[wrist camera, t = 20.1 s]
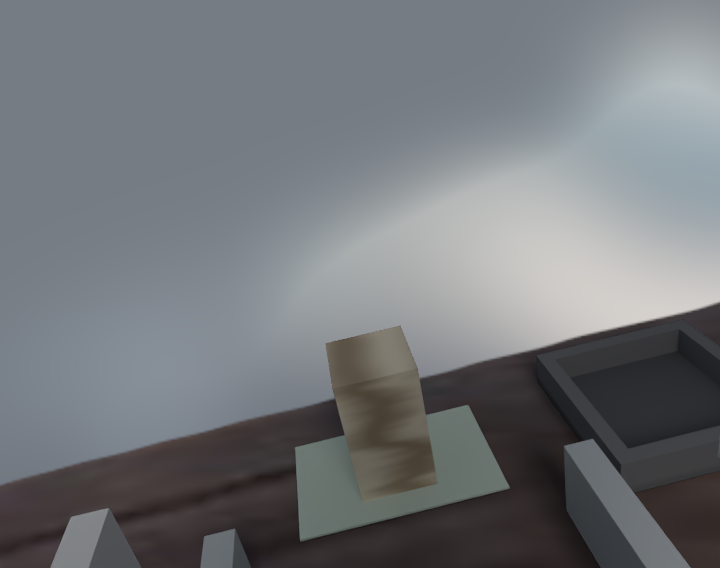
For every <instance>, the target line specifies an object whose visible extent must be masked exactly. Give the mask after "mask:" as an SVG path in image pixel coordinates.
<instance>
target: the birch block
mask: <svg viewBox="0 0 720 568" xmlns="http://www.w3.org/2000/svg"><path fill="white" fill-rule="evenodd" d="M326 349H327V355H328V362H329V369H330V375H331V382H332V388H333V392H334V396H335V400H336V404H337V407H338V411H339V415H340V419H341V423H342V426H343V430H344V434H345V438H346V442H347V445H348V449H349V453H350V457H351V461H352V464H353V468H354V472H355V476H356V480H357V483H358V487H359V491H360V495H361V499H362V502H366V501H370V500H374V499H378V498H382V497H386V496H390V495H394V494H398V493H402V492H406V491H410V490H414V489H418V488H422V487H426V486H430V485H434V484H438V482H437V476H436V470H435V465H434V459H433V453H432V448H431V442H430V436H429V431H428V425H427V419H426V414H425V408H424V402H423V397H422V391H421V385H420V380H419V374H418V369H417V366H416V363H415V361H414V358H413V356H412V353H411V351H410V349H409V346H408V344H407V341H406V339H405V337H404V334H403V331H402V329H401V326H398V327H393V328H389V329H385V330H380V331H376V332H372V333H368V334H363V335H359V336H355V337H351V338H347V339H342V340H338V341H334V342H330V343H326Z"/></svg>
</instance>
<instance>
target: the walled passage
mask: <svg viewBox="0 0 720 568" xmlns="http://www.w3.org/2000/svg"><path fill="white" fill-rule="evenodd" d="M564 464H565V489H566V510H567V512H568V514H569V515H570V517H571V519H572V520H573V522H574V524H575V526H576V527H577V529H578V531H579V532H580V534H581V536H582V537H583V539H584V541H585V542H586V544H587V546H588V547H589V549H590V551H591V552H592V554H593V556H594V558H595V559H596V561H597V563H598V564H599V566H600V568H690V566H689V565H688V564H687V562H686V561H685V560H684V559H683V557H682V556H681V555H680V553H679V552H678V551H677V549H676V548H675V547H674V545H673V544H672V543H671V541H670V540H669V539H668V537H667V536H666V535H665V533H664V532H663V531H662V529H661V528H660V527H659V525H658V524H657V523H656V521H655V520H654V519H653V518H652V516H651V515H650V514H649V512H648V511H647V510H646V508H645V507H644V506H643V504H642V503H641V502H640V500H639V499H638V498H637V496H636V495H635V494H634V492H633V491H632V490H631V488H630V487H629V486H628V484H627V483H626V482H625V480H624V479H623V478H622V477H621V475H620V474H619V473H618V471H617V470H616V469H615V467H614V466H613V465H612V463H611V462H610V461H609V459H608V458H607V457H606V455H605V454H604V453H603V451H602V450H601V449H600V447H599V446H598V445H597V443H596V442H595V441H594V440H593V439H590V440H586V441H582V442H578V443H574V444H570V445H566V446H564ZM200 568H251V566H250V563H249V561H248V559H247V556H246V554H245V551H244V549H243V547H242V544H241V542H240V539H239V537H238V535H237V532H236V530H235V529H232V530H228V531H224V532H220V533H216V534H212V535H208V536H204V543H203V551H202V558H201V566H200Z"/></svg>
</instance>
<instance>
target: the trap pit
mask: <svg viewBox="0 0 720 568" xmlns="http://www.w3.org/2000/svg"><path fill="white" fill-rule="evenodd" d="M536 360H537V376H538V383H539V384H540V386H541V387H542V388H543V390H544V391H545V392H546V394H547V395H548V397H549V398H550V399H551V401H552V402H553V403H554V405H555V406H556V408H557V409H558V410H559V412H560V413H561V415H562V416H563V417H564V419H565V420H566V421H567V423H568V424H569V426H570V427H571V428H572V430H573V431H574V433H575V434H576V435H577V437H578V438H579V439H580V441H581V442H582V441H586V440H590V439H593V440H594V441H595V442H596V443H597V445H598V446H599V447H600V449H601V450H602V451H603V453H604V454H605V455H606V457H607V458H608V459H609V461H610V462H611V463H612V465H613V466H614V467H615V469H616V470H617V471H618V473H619V474H620V475H621V477H622V478H623V479H624V480H625V482H626V483H627V484H628V486H629V487H630V488H631V490H632V491H633V492H634V493H635V492H639V491H643V490H647V489H650V488H654V487H658V486H662V485H666V484H670V483H674V482H678V481H682V480H686V479H689V478H693V477H697V476H701V475H705V474H709V473H713V472H717V471H720V457H719V456H718V449H719V441H720V346H719V345H717V344H716V343H715V342H713V341H712V340H711V339H709V338H708V337H706V336H705V335H704V334H702V333H701V332H700V331H698V330H697V329H696V328H694V327H693V326H692V325H690V324H689V323H688V322H686V321H685V320H684V319H683V320H679V321H674V322H670V323H666V324H662V325H658V326H654V327H650V328H646V329H642V330H638V331H634V332H629V333H625V334H621V335H617V336H613V337H609V338H605V339H601V340H597V341H593V342H588V343H584V344H580V345H576V346H572V347H568V348H564V349H560V350H556V351H552V352H548V353H543V354H539V355H536Z"/></svg>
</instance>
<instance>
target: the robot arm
mask: <svg viewBox="0 0 720 568" xmlns="http://www.w3.org/2000/svg"><path fill="white" fill-rule="evenodd" d="M718 456H719V457H720V441H719V449H718ZM51 568H141V566H140V564H139V562H138V561H137V559H136V557H135V555H134V553H133V551H132V550H131V548H130V546H129V544H128V542H127V540H126V538H125V537H124V535H123V533H122V531H121V529H120V527H119V526H118V524H117V522H116V520H115V518H114V516H113V514H112V513H111V511H110V509H109V508H106V509H102V510H98V511H94V512H90V513H86V514H82V515H78V516H73V517H71V519H70V521H69V523H68V526H67V528H66V531H65V533H64V536H63V538H62V541H61V543H60V545H59V548H58V550H57V553H56V555H55V558H54V560H53V563H52V565H51Z"/></svg>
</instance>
